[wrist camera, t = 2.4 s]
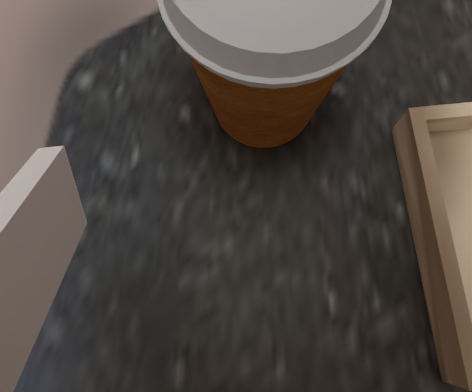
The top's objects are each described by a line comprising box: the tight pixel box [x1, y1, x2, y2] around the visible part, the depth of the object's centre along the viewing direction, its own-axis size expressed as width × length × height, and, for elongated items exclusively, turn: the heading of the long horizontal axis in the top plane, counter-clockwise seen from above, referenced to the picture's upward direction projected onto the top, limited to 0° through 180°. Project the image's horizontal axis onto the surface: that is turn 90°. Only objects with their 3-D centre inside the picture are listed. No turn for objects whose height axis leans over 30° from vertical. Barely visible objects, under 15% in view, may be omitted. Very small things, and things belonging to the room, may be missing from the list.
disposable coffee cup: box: [157, 0, 392, 148], centre depth 22 cm, size 10×10×12 cm
